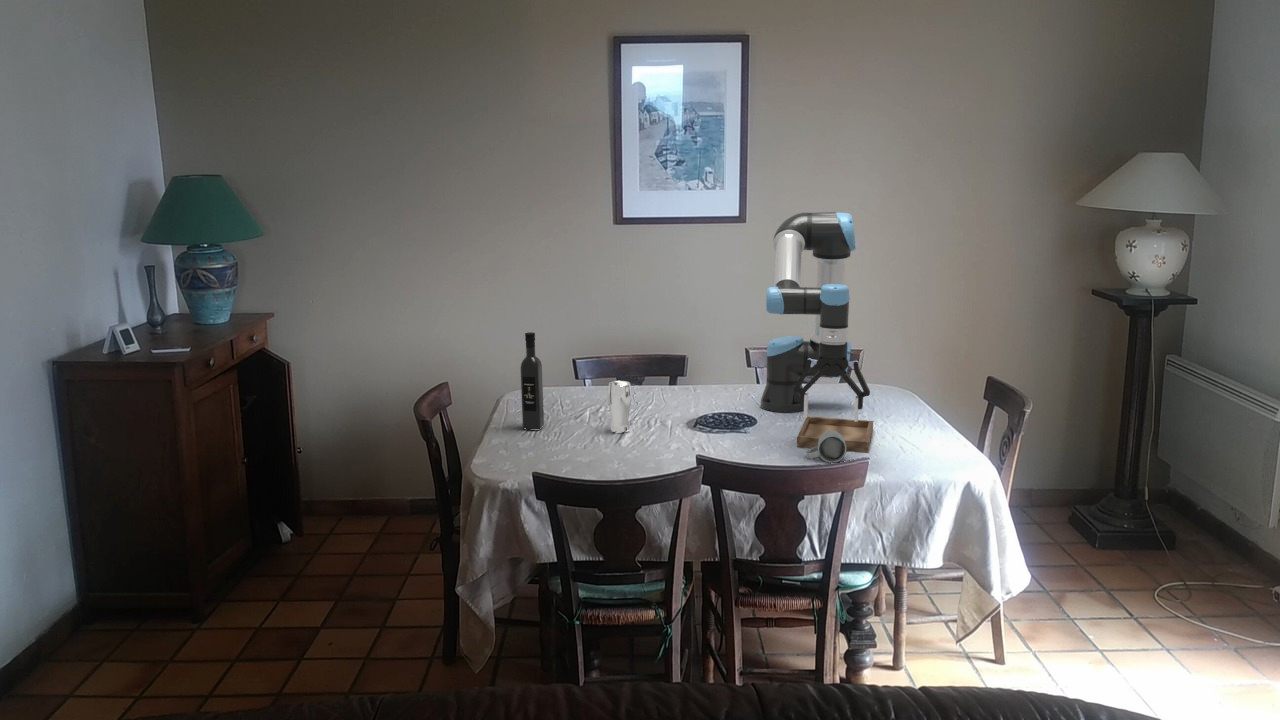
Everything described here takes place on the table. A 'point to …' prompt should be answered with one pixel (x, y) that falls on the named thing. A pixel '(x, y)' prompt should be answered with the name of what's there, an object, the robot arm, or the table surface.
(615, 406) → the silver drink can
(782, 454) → the table surface
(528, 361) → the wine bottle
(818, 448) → the ceramic mug
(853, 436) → the walnut tray
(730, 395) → the table surface
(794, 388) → the robot arm
